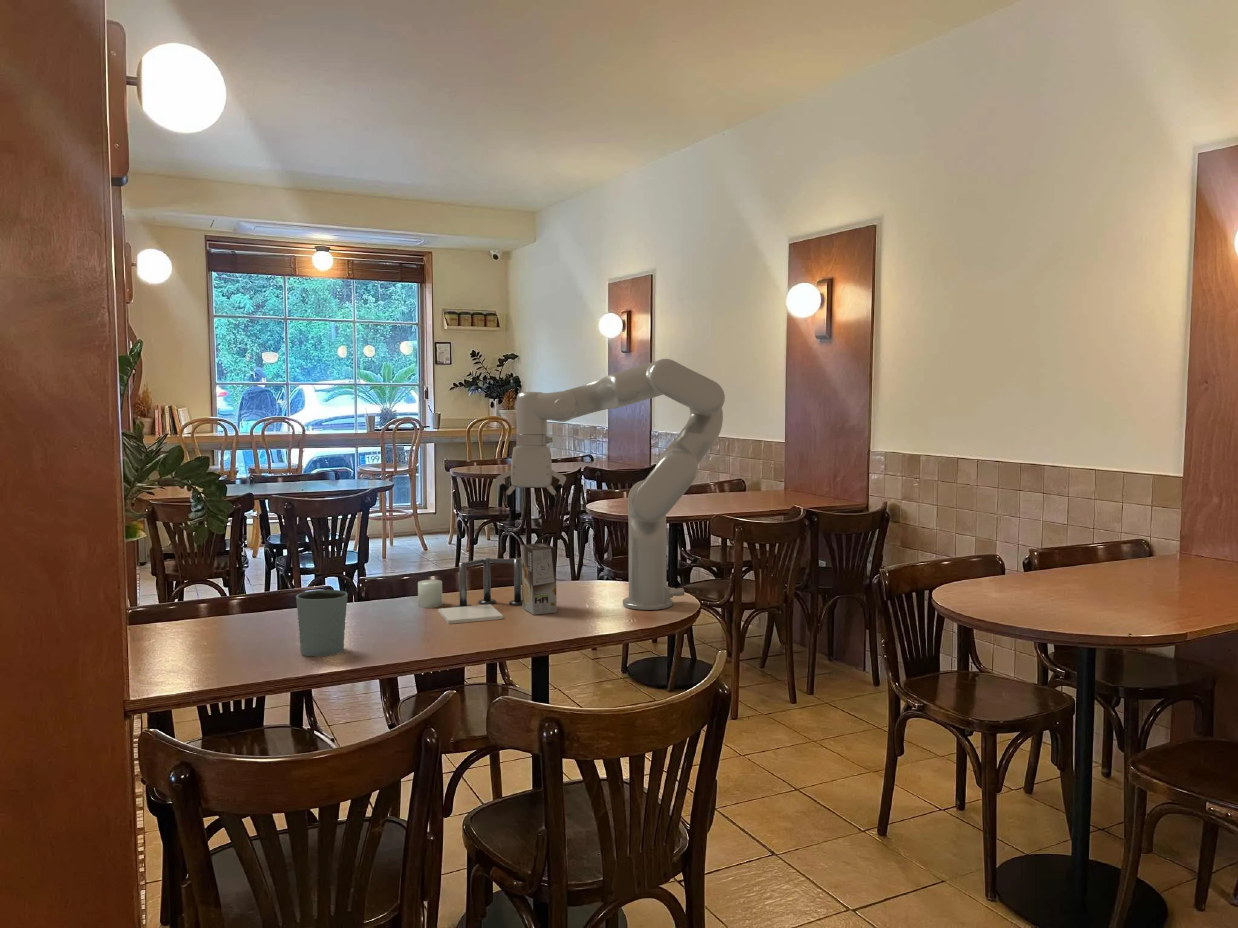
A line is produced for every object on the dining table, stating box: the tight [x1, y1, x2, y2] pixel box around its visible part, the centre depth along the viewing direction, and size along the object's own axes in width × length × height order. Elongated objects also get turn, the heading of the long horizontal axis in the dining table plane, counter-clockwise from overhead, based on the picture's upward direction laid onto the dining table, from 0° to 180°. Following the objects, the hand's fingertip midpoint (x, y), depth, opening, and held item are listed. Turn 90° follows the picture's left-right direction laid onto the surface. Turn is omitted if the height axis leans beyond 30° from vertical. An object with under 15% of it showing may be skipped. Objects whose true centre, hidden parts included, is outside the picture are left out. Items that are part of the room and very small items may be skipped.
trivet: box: [437, 604, 504, 625], centre depth 223 cm, size 13×13×1 cm
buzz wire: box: [453, 557, 522, 608], centre depth 234 cm, size 18×8×12 cm, turn 111°
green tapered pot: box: [295, 589, 349, 657], centre depth 191 cm, size 10×10×12 cm
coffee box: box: [520, 542, 558, 616], centre depth 228 cm, size 9×6×16 cm
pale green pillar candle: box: [417, 579, 443, 609], centre depth 234 cm, size 6×6×6 cm
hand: (531, 510), depth 230 cm, fingers open, 9 cm apart
